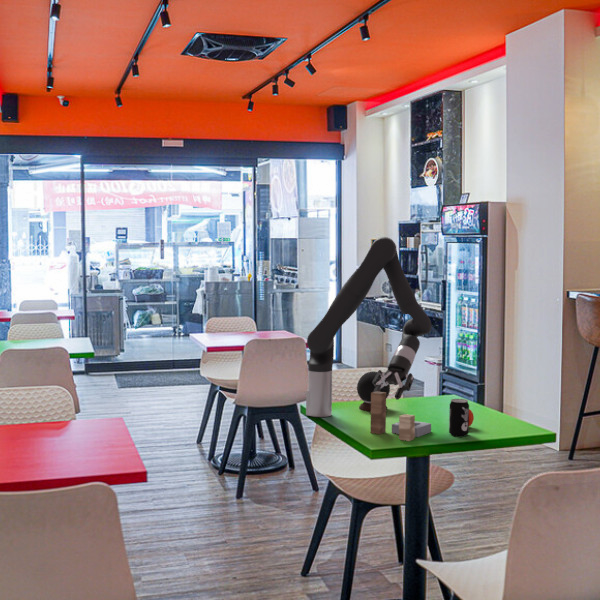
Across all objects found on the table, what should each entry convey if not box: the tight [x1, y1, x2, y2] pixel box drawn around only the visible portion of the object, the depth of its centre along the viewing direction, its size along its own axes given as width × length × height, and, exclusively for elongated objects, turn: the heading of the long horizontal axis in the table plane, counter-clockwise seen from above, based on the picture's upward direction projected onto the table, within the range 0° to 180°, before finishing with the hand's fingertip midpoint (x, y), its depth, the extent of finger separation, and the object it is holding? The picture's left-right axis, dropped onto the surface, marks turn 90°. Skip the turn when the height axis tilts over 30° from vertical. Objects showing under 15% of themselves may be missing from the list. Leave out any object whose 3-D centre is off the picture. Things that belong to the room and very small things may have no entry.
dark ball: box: [356, 370, 391, 412], centre depth 317 cm, size 13×13×15 cm
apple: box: [469, 408, 475, 427], centre depth 284 cm, size 8×8×8 cm
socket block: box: [391, 420, 432, 438], centre depth 276 cm, size 10×10×3 cm
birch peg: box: [398, 413, 416, 442], centre depth 265 cm, size 4×4×8 cm
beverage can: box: [448, 398, 470, 437], centre depth 273 cm, size 7×7×12 cm
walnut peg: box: [370, 391, 387, 435], centre depth 275 cm, size 4×4×14 cm
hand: (385, 396), depth 278 cm, fingers open, 8 cm apart
